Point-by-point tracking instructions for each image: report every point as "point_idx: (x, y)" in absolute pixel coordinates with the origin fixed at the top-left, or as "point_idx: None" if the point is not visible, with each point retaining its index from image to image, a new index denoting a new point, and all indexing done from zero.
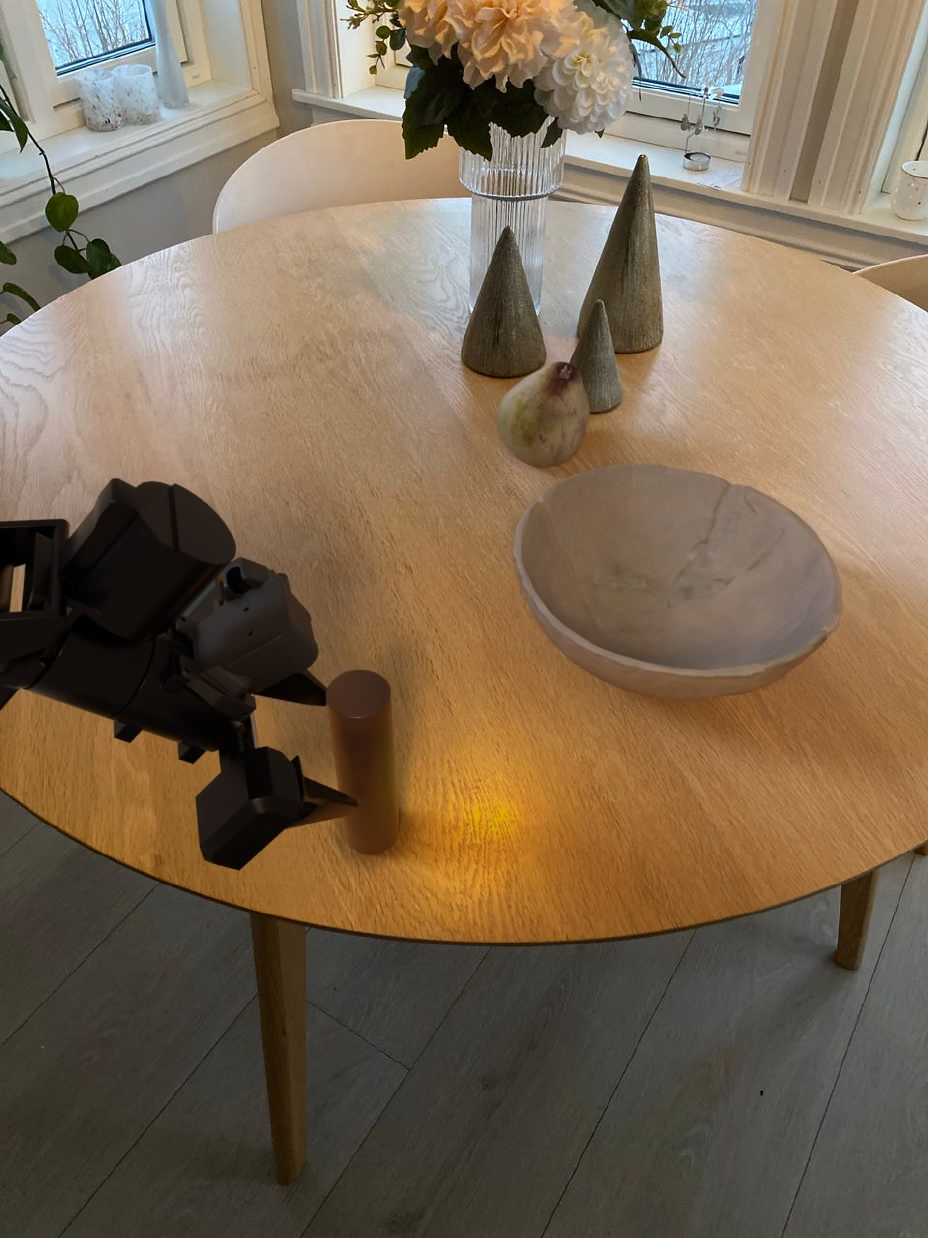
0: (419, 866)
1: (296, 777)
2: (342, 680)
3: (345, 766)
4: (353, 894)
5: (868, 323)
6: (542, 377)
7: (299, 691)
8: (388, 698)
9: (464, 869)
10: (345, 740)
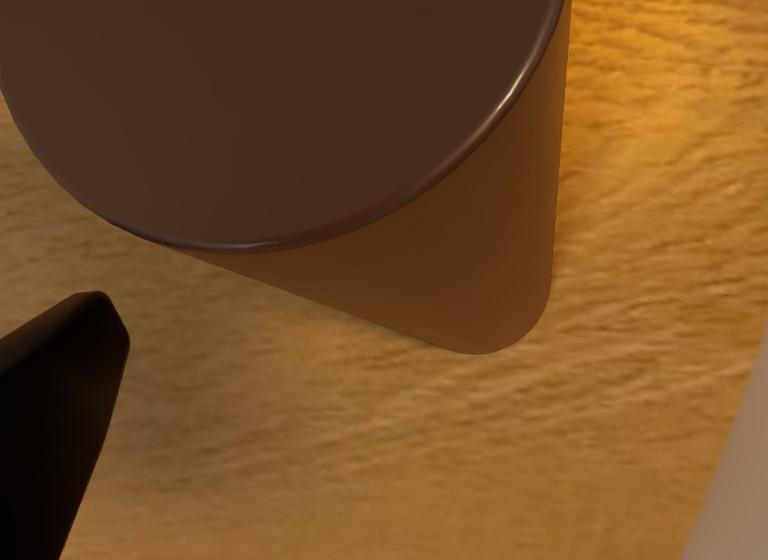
0: (606, 169)
1: None
2: (76, 84)
3: (519, 271)
4: (667, 351)
5: None
6: None
7: (36, 456)
8: None
9: (635, 57)
10: (526, 201)
